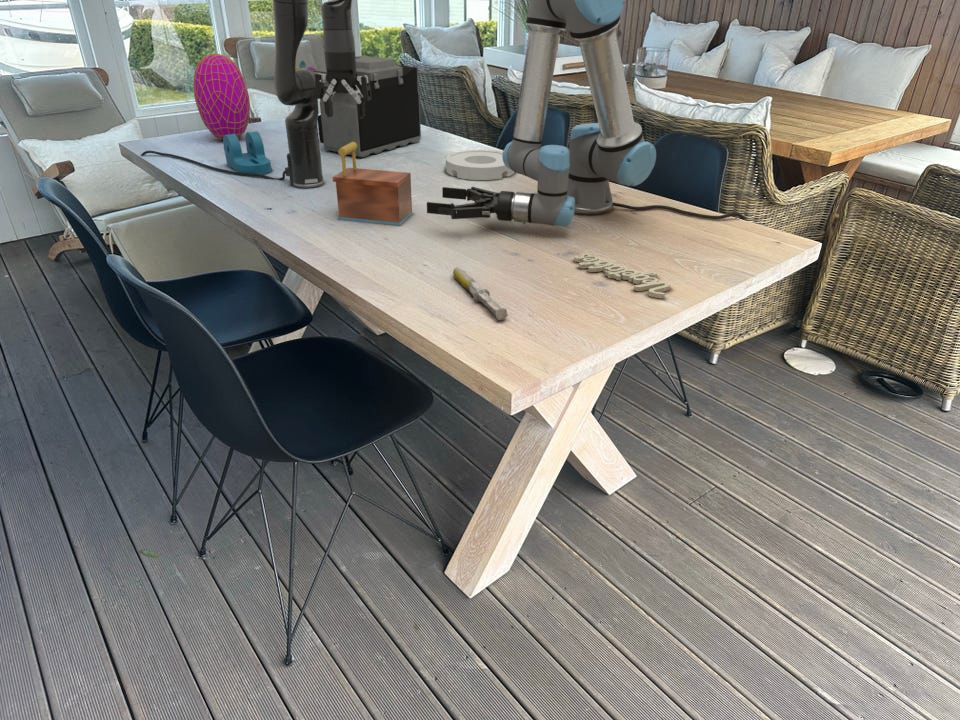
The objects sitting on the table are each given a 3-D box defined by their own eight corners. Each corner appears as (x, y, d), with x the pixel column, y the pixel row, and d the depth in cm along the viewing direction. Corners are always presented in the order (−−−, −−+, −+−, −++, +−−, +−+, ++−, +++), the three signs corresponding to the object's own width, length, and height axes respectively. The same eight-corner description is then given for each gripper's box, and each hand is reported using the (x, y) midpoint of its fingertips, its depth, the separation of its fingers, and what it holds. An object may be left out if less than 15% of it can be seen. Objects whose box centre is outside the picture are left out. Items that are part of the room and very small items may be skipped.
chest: (339, 219, 187) (335, 182, 181) (354, 208, 195) (350, 172, 190) (399, 225, 183) (397, 187, 178) (412, 214, 191) (410, 177, 186)
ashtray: (448, 160, 240) (448, 149, 238) (514, 162, 240) (514, 150, 238) (443, 179, 220) (443, 166, 218) (515, 180, 220) (515, 168, 218)
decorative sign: (686, 282, 150) (660, 295, 144) (686, 286, 150) (659, 300, 144) (592, 249, 166) (565, 259, 160) (592, 253, 167) (565, 263, 161)
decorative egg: (219, 147, 253) (203, 59, 238) (193, 139, 264) (176, 54, 249) (265, 139, 265) (252, 54, 250) (238, 131, 276) (225, 50, 261)
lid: (333, 181, 182) (329, 148, 177) (348, 172, 190) (345, 140, 185) (397, 187, 178) (396, 153, 173) (410, 177, 186) (409, 144, 181)
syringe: (449, 274, 155) (449, 263, 153) (465, 272, 156) (464, 260, 154) (490, 323, 135) (491, 310, 133) (508, 319, 136) (508, 307, 134)
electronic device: (383, 133, 276) (378, 52, 261) (425, 141, 265) (422, 56, 250) (314, 150, 251) (304, 61, 235) (358, 160, 240) (350, 67, 224)
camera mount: (227, 164, 233) (221, 132, 227) (257, 160, 238) (252, 129, 233) (244, 176, 220) (239, 143, 215) (276, 172, 225) (271, 139, 220)
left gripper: (372, 48, 171) (376, 116, 179) (319, 46, 174) (326, 113, 182) (360, 52, 164) (365, 122, 173) (306, 49, 167) (313, 118, 176)
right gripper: (502, 237, 168) (420, 228, 173) (522, 206, 189) (448, 199, 193) (503, 207, 164) (419, 199, 169) (523, 179, 185) (448, 173, 190)
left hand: (345, 117), depth 177 cm, fingers open, 8 cm apart
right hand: (435, 199), depth 181 cm, fingers open, 13 cm apart
